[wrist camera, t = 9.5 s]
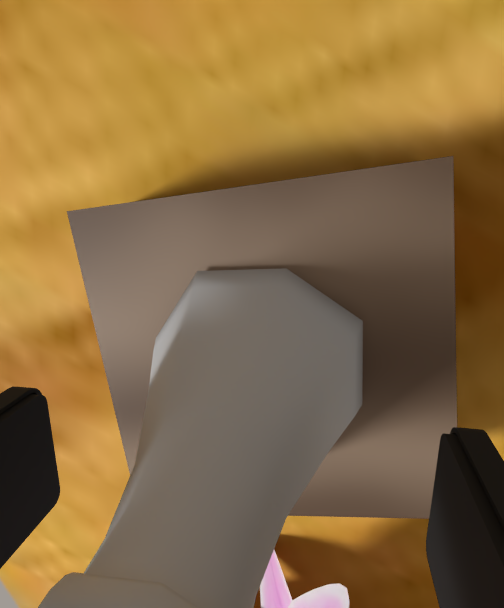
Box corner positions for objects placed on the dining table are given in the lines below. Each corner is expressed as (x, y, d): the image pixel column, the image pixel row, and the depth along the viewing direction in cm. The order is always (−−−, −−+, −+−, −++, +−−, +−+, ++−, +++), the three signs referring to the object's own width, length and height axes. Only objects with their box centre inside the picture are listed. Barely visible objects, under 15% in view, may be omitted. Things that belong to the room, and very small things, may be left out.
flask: (179, 235, 14) (-162, 354, 4) (400, 300, 13) (589, 619, 4) (141, 421, 16) (-138, 773, 6) (328, 485, 15) (324, 983, 6)
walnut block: (133, 203, 19) (66, 211, 14) (418, 163, 16) (453, 156, 12) (180, 440, 22) (139, 512, 17) (427, 436, 19) (458, 519, 15)
